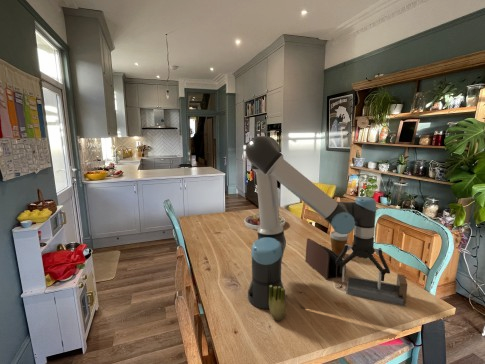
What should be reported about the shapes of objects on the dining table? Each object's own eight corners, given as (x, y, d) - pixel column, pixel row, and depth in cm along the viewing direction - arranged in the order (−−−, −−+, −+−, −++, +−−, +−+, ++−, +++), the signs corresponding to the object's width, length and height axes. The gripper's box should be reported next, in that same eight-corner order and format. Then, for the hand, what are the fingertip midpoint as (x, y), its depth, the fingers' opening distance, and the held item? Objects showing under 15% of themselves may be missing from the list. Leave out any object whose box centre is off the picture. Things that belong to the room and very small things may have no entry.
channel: (406, 307, 97) (408, 286, 96) (346, 295, 105) (347, 275, 104) (401, 293, 106) (403, 273, 105) (346, 282, 114) (348, 264, 113)
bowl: (263, 217, 212) (263, 208, 211) (293, 226, 190) (293, 215, 189) (236, 226, 192) (235, 215, 191) (266, 236, 170) (266, 225, 169)
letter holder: (326, 281, 116) (327, 252, 113) (305, 261, 135) (305, 236, 132) (345, 278, 118) (347, 249, 116) (322, 259, 137) (323, 234, 135)
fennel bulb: (266, 315, 94) (267, 285, 92) (276, 310, 97) (277, 280, 95) (277, 324, 89) (278, 292, 87) (288, 318, 92) (288, 287, 90)
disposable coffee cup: (350, 254, 142) (351, 233, 140) (343, 260, 135) (344, 238, 133) (333, 249, 149) (334, 229, 147) (325, 255, 142) (326, 234, 140)
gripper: (398, 236, 102) (393, 285, 106) (331, 228, 112) (329, 273, 116) (401, 243, 95) (396, 295, 99) (330, 234, 105) (328, 282, 109)
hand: (360, 284), depth 107 cm, fingers open, 13 cm apart
